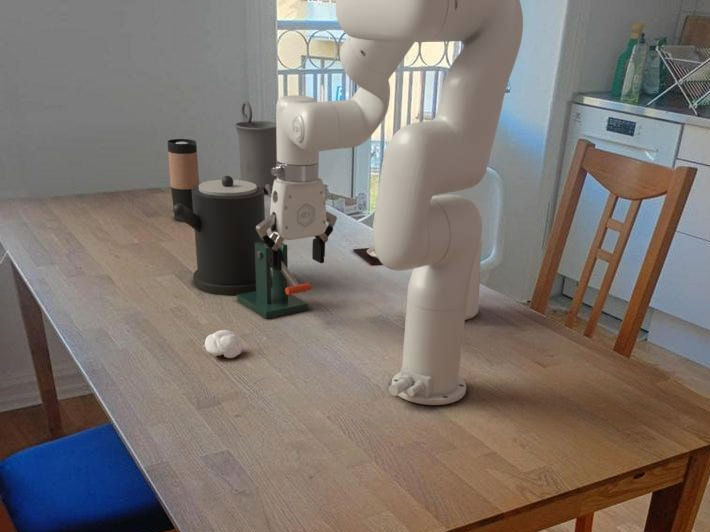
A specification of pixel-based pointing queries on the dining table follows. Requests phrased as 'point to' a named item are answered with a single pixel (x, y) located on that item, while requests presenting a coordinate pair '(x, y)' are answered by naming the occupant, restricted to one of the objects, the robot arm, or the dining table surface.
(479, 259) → the coffeepot
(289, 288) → the switch lever
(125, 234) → the dining table surface
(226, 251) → the kettle
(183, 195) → the travel mug
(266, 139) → the grey canister
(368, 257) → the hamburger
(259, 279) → the switch bracket
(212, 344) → the dumpling
